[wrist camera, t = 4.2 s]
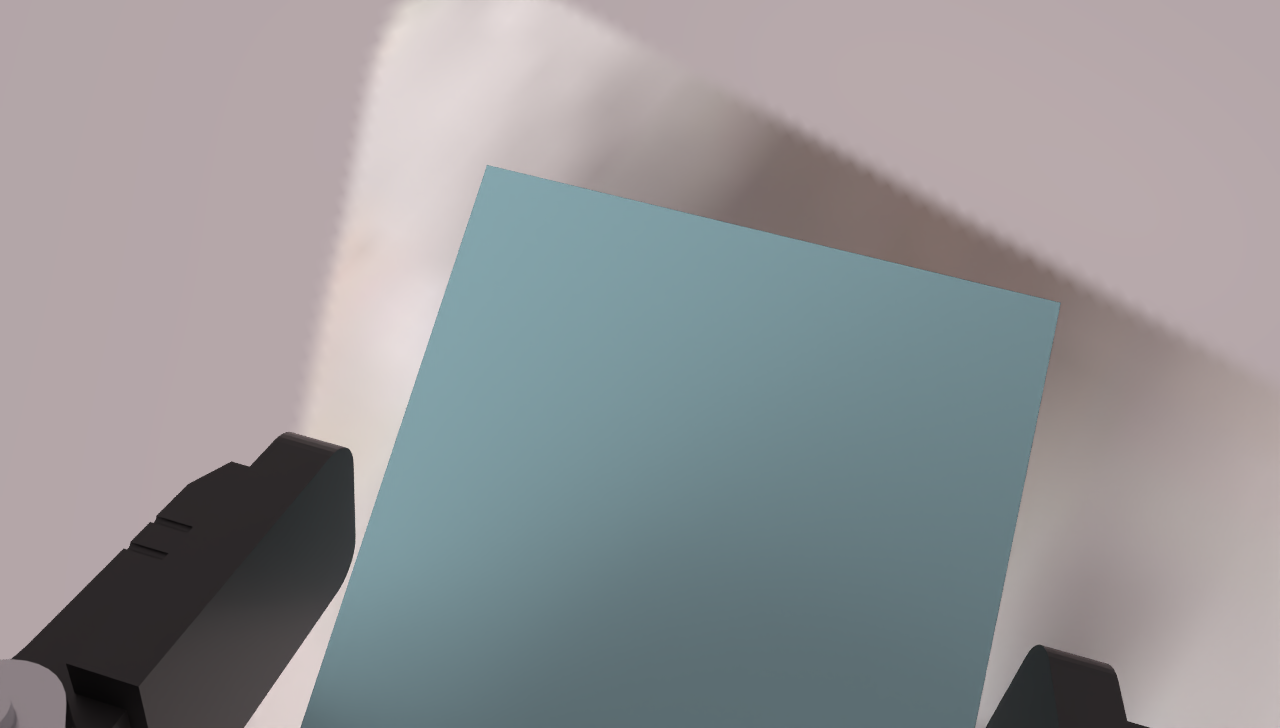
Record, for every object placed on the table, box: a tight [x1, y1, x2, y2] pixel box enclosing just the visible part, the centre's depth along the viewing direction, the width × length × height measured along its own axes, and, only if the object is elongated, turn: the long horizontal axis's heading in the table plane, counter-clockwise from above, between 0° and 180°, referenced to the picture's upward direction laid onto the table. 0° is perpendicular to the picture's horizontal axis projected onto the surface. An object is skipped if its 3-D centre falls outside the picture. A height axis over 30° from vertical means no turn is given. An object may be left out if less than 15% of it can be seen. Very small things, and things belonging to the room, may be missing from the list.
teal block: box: [301, 165, 1061, 728], centre depth 13 cm, size 5×5×10 cm
